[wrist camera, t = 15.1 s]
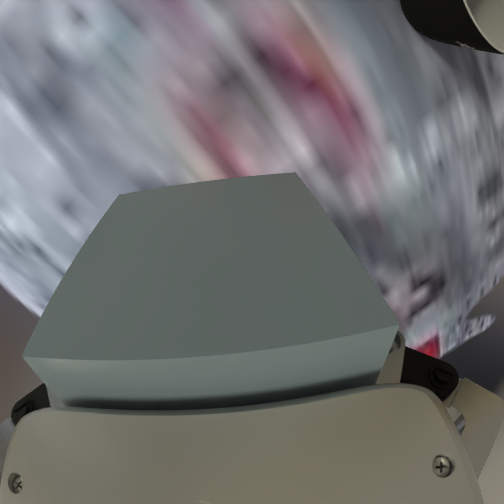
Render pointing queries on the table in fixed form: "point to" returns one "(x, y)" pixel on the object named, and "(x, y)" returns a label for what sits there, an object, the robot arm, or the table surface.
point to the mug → (459, 22)
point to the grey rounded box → (212, 303)
